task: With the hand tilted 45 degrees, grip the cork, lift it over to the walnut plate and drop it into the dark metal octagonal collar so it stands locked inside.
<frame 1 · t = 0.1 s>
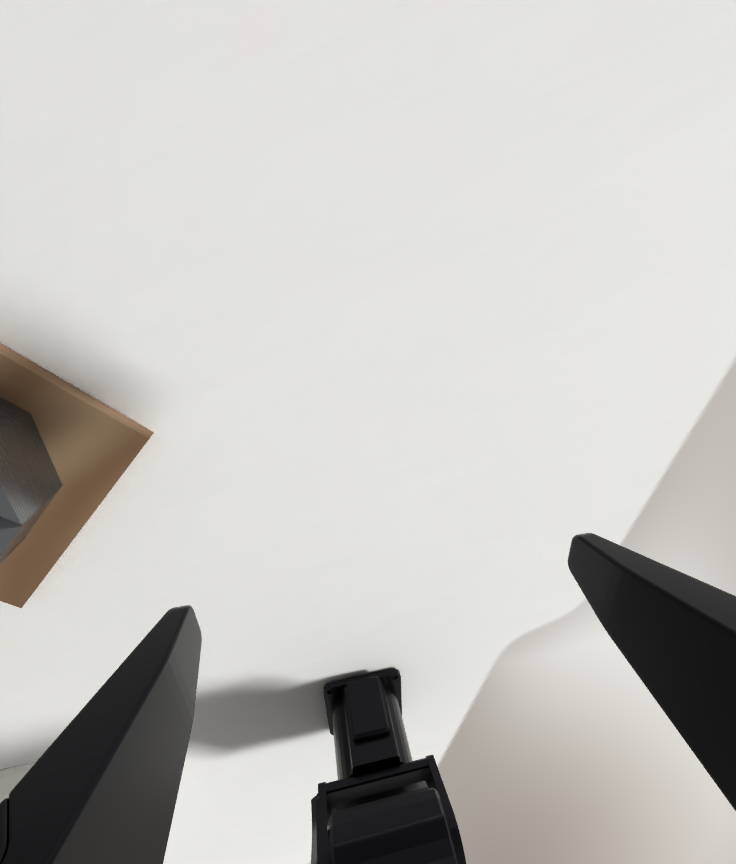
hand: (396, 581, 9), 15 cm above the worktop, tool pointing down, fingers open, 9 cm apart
roll of tape: (59, 808, 33), on the worktop
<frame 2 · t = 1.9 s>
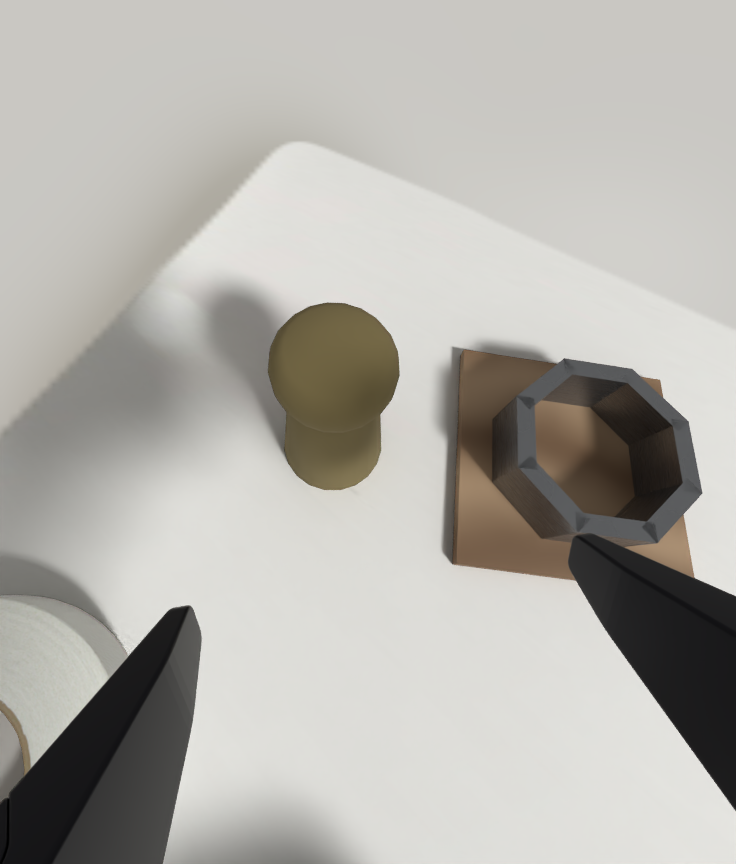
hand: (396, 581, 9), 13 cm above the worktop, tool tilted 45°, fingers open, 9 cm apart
walnut plate: (562, 464, 25), on the worktop
metal collar: (587, 452, 23), on the walnut plate, point 3 cm above the worktop
cork: (333, 443, 24), on the worktop
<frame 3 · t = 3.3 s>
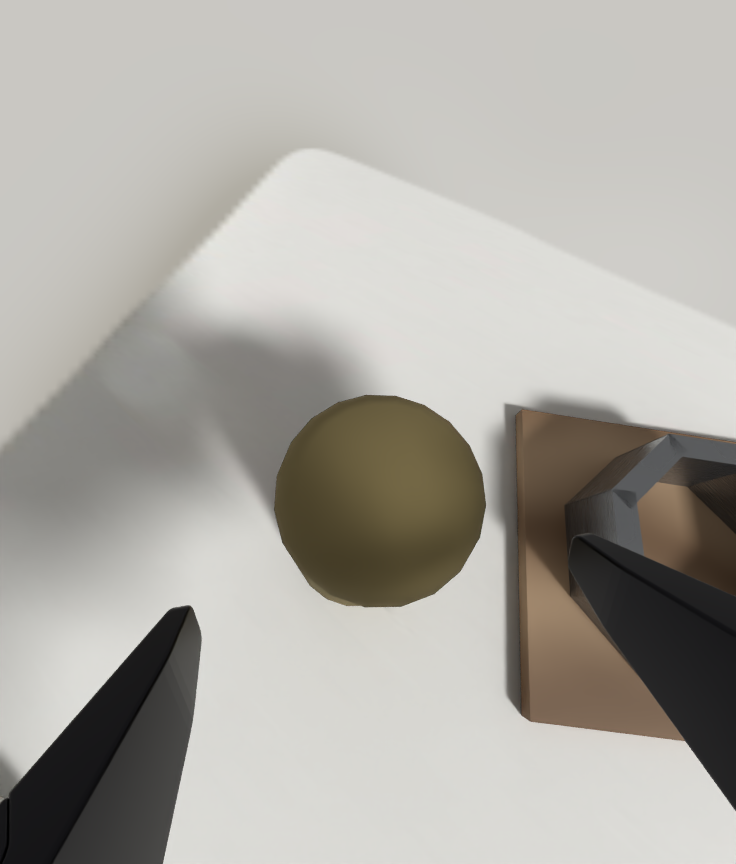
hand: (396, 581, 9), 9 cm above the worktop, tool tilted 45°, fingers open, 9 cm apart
walnut plate: (656, 564, 19), on the worktop
metal collar: (701, 561, 17), on the walnut plate, point 3 cm above the worktop
cork: (357, 537, 19), on the worktop
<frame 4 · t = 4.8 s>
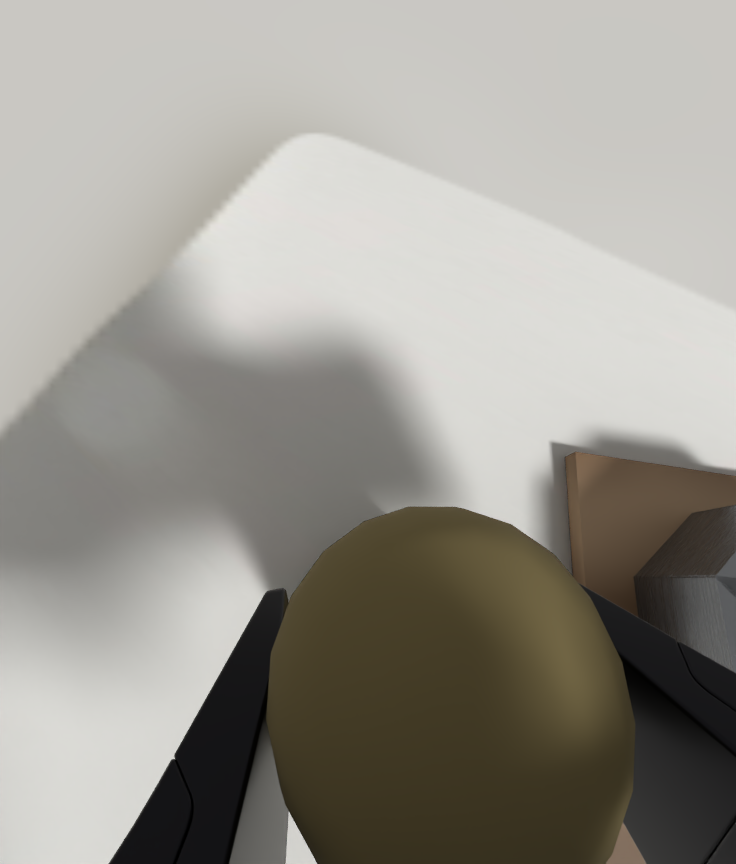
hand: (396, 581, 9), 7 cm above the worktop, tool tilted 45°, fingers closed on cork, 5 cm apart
cork: (375, 619, 15), on the worktop, touching gripper
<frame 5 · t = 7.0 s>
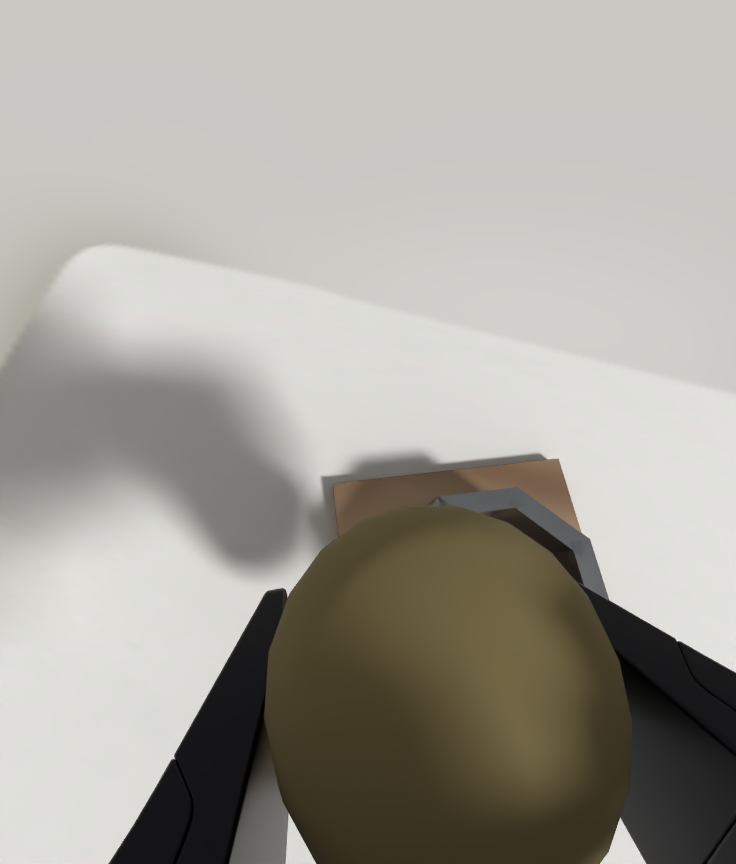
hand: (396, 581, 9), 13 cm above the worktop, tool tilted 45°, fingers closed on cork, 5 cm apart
walnut plate: (471, 595, 22), on the worktop
metal collar: (489, 598, 19), on the walnut plate, point 3 cm above the worktop
cork: (374, 617, 15), point 6 cm above the worktop, touching gripper
when the fingers open (9 cm above the worktop, at t = 9.1 s): cork drops 1 cm, resting on walnut plate.
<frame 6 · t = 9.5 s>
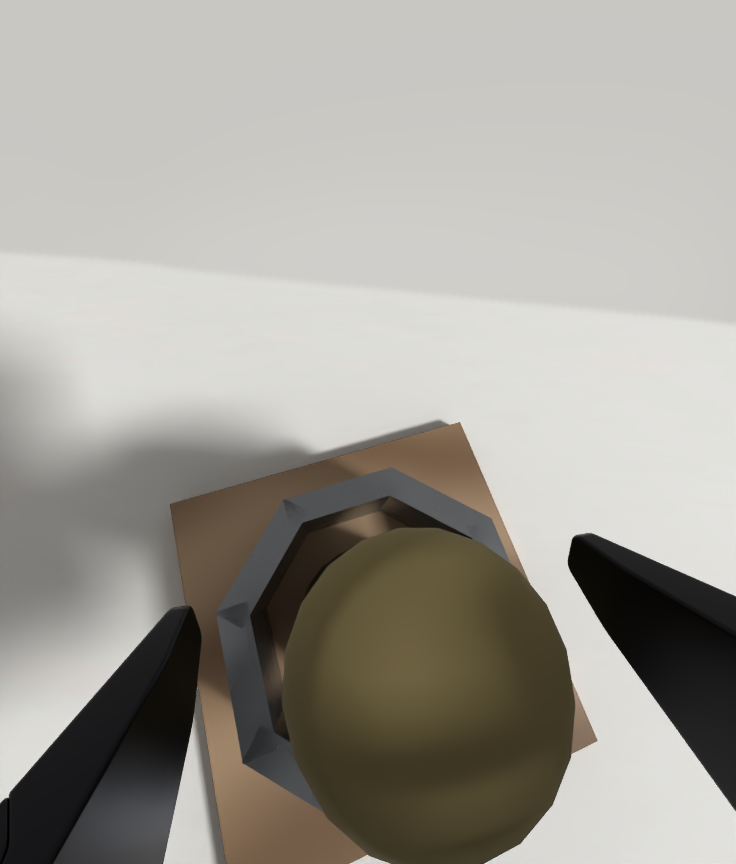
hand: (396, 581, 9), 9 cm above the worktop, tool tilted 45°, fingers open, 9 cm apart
walnut plate: (370, 614, 17), on the worktop
metal collar: (376, 620, 14), on the walnut plate, point 3 cm above the worktop
cork: (372, 621, 16), point 1 cm above the worktop, touching walnut plate
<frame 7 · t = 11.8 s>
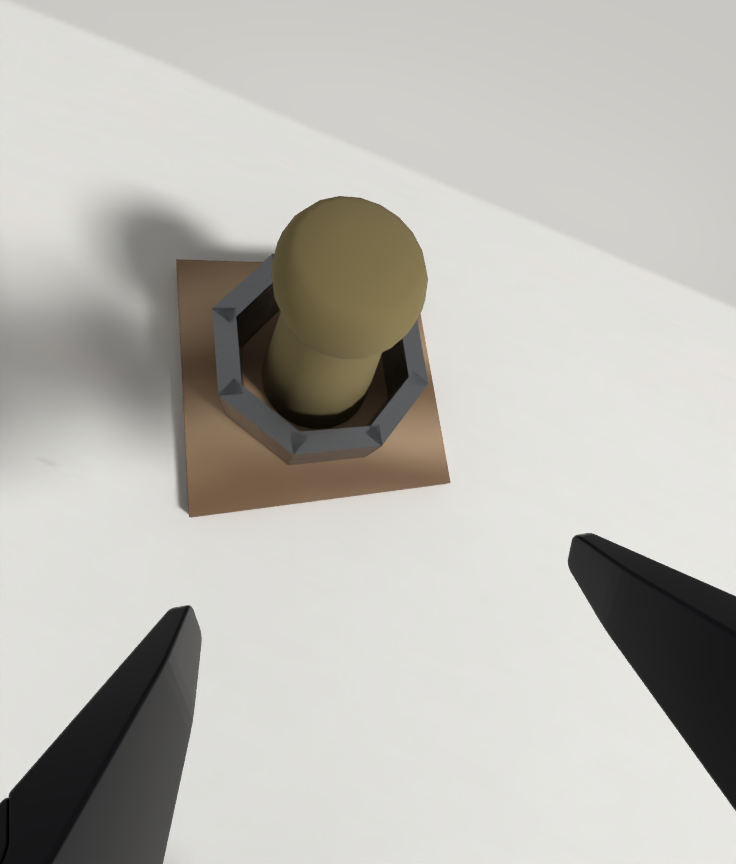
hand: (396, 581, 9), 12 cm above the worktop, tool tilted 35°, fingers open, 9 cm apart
walnut plate: (315, 378, 23), on the worktop
metal collar: (321, 362, 20), on the walnut plate, point 3 cm above the worktop
cork: (316, 378, 22), point 1 cm above the worktop, touching walnut plate
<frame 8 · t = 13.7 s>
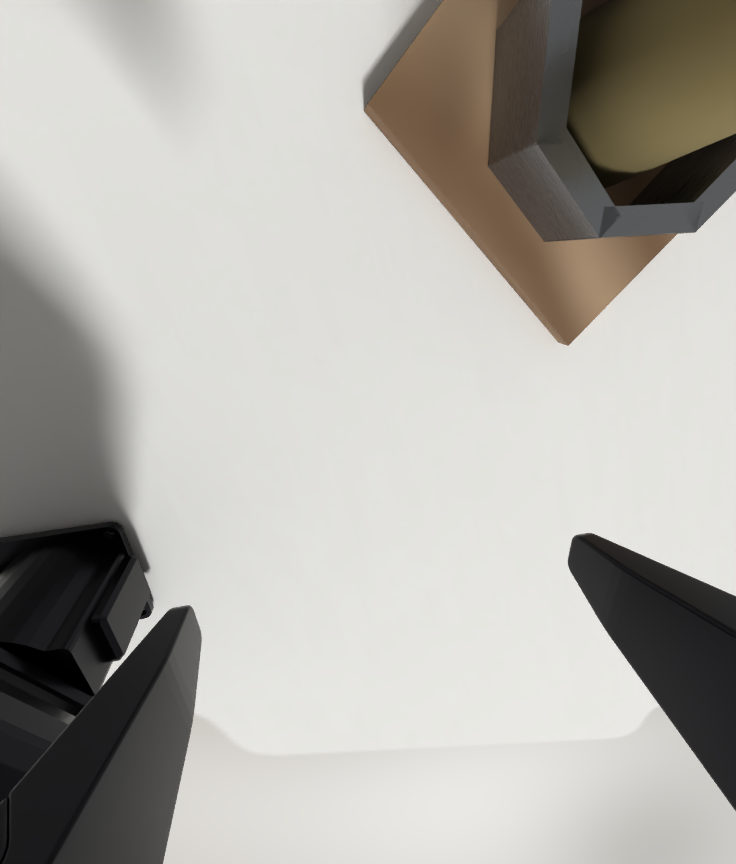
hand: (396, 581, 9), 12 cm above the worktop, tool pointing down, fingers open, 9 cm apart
walnut plate: (593, 108, 16), on the worktop
metal collar: (642, 84, 14), on the walnut plate, point 3 cm above the worktop
cork: (599, 106, 16), point 1 cm above the worktop, touching walnut plate
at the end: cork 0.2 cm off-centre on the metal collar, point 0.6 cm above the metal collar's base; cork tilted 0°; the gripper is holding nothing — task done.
